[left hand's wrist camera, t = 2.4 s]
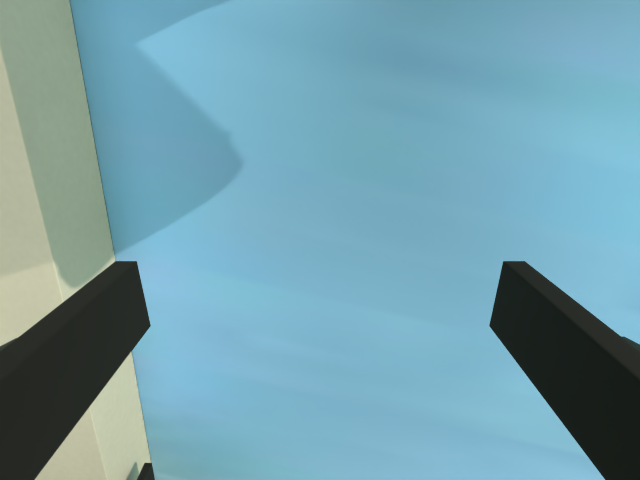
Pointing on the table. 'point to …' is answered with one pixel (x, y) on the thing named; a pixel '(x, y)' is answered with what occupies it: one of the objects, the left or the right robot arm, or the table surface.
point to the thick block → (57, 222)
